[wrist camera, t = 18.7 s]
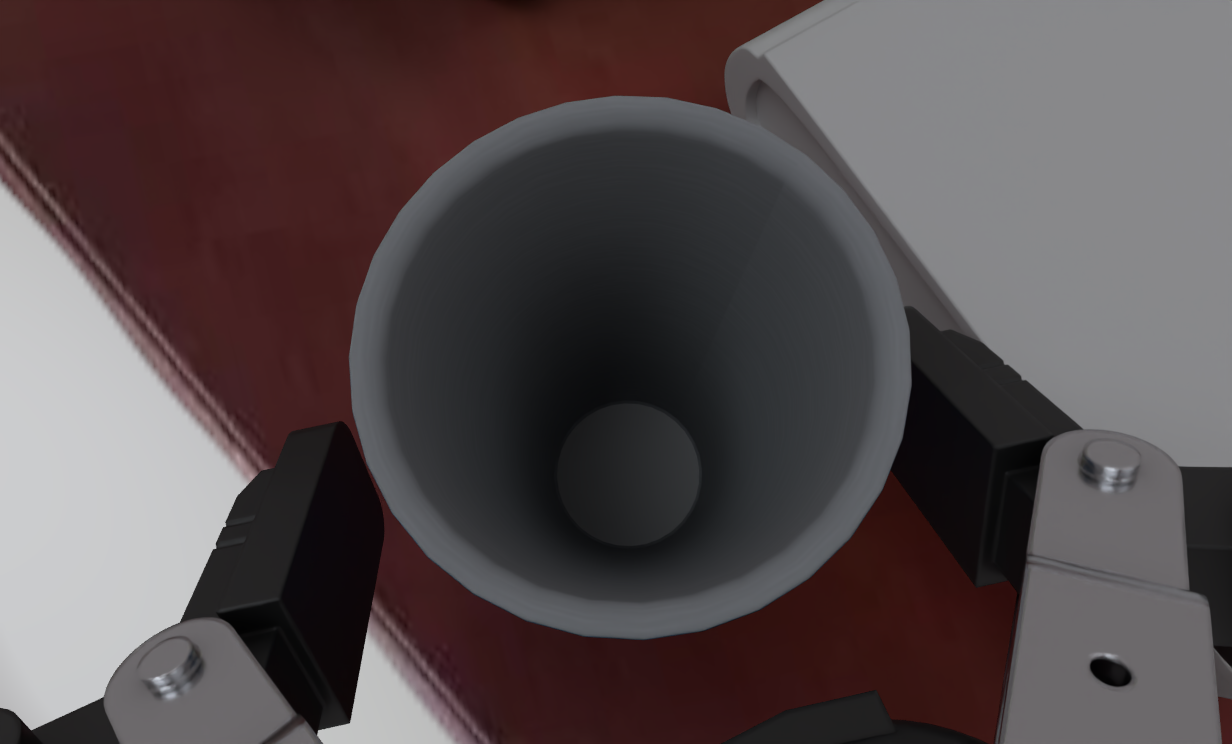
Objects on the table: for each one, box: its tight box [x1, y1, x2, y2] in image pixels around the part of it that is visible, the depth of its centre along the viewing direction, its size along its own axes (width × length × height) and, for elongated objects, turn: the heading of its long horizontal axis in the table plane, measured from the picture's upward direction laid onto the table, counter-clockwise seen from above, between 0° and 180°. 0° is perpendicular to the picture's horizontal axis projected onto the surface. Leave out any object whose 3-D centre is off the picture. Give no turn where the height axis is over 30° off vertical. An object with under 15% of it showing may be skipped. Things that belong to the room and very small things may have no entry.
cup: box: [349, 96, 912, 640], centre depth 13 cm, size 6×5×12 cm
